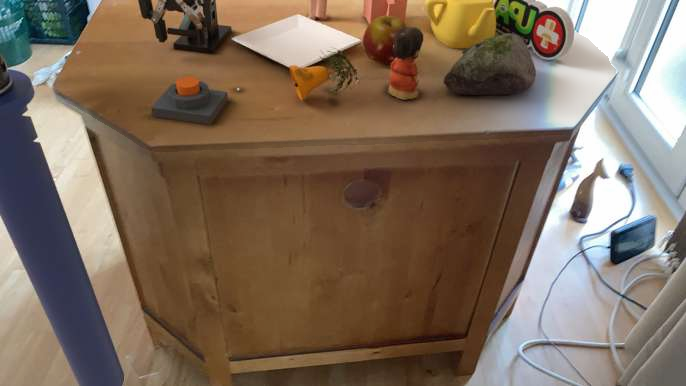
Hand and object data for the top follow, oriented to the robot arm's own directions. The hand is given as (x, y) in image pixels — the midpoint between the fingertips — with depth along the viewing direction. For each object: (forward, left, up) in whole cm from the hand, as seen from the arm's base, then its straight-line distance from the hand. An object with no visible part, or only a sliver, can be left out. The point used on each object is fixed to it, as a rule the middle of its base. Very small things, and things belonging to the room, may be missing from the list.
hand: (182, 43), depth 105 cm
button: (+8, -16, 0) cm, 18 cm away
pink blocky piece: (+34, +29, -4) cm, 45 cm away
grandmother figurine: (+20, +27, -4) cm, 34 cm away
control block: (+8, -16, -4) cm, 18 cm away
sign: (+65, +26, -4) cm, 70 cm away
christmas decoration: (+24, -9, -4) cm, 26 cm away
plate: (+19, +11, -4) cm, 22 cm away
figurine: (+42, -2, -4) cm, 42 cm away
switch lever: (0, +6, +3) cm, 6 cm away
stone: (+56, +6, -4) cm, 57 cm away
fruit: (+37, +11, -4) cm, 39 cm away
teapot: (+50, +26, -4) cm, 56 cm away
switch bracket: (0, +9, -3) cm, 10 cm away
